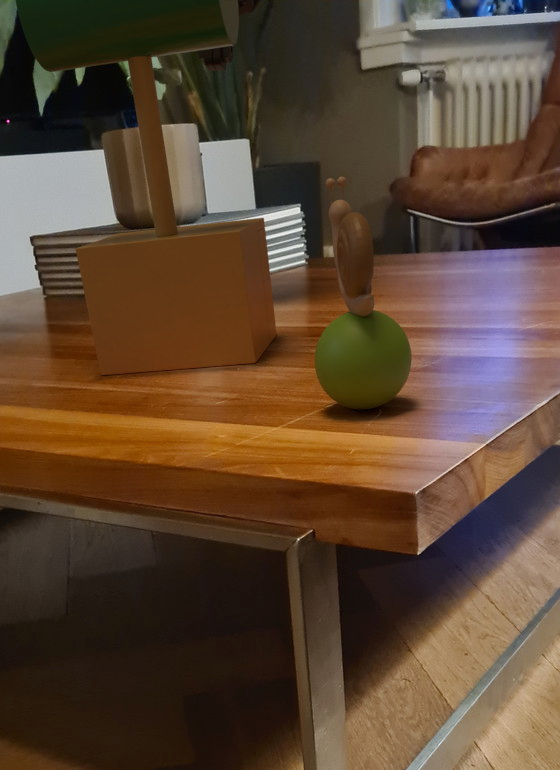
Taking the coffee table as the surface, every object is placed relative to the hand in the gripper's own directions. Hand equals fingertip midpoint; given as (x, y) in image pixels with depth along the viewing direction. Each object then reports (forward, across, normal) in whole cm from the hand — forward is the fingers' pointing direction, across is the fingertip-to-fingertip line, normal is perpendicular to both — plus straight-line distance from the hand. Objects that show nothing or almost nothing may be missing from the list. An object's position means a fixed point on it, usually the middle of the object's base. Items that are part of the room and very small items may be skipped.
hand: (215, 67), depth 79 cm
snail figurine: (+28, -17, +31) cm, 45 cm away
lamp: (+24, -2, +13) cm, 27 cm away
